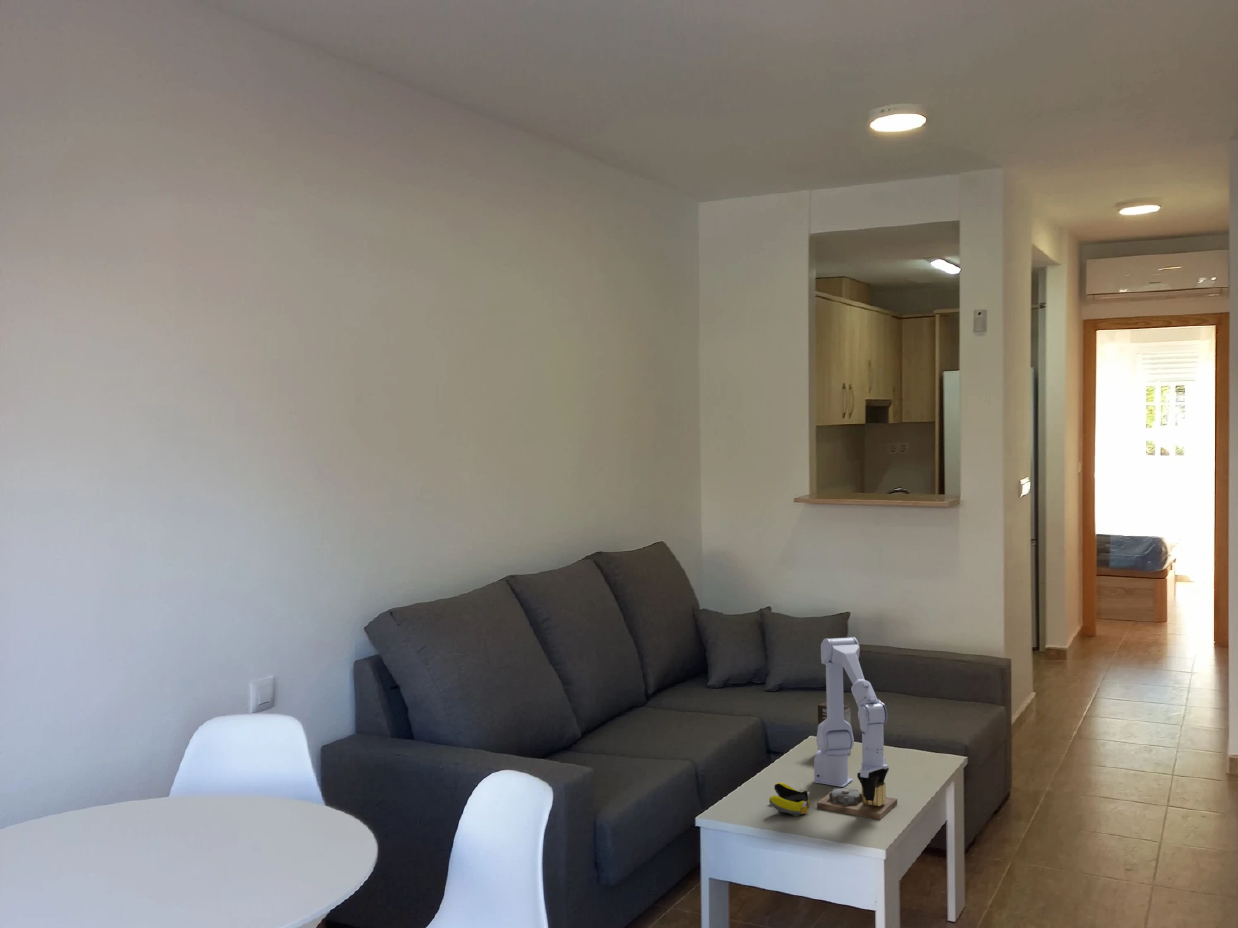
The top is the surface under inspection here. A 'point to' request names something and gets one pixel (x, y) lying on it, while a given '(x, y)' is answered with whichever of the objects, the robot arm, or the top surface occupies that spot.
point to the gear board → (854, 804)
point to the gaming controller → (789, 800)
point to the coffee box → (823, 714)
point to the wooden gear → (877, 795)
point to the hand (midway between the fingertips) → (873, 796)
